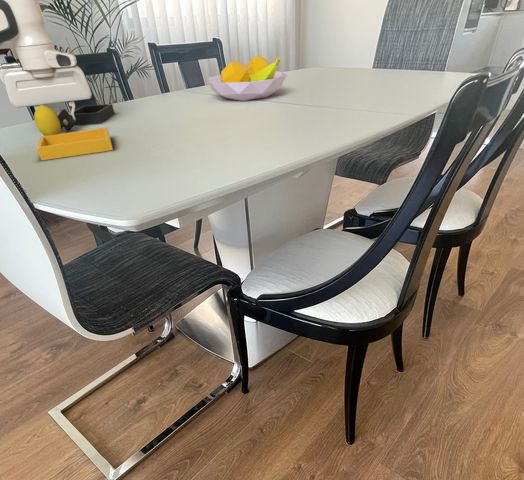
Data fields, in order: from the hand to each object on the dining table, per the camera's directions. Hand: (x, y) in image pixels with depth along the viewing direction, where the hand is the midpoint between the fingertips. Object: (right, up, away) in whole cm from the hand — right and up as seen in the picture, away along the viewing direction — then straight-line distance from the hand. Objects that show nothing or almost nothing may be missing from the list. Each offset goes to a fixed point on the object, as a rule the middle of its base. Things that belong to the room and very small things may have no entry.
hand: (61, 122), depth 106 cm
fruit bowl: (+51, +24, +26) cm, 62 cm away
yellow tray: (+11, -15, -14) cm, 23 cm away
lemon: (+2, -9, -6) cm, 10 cm away
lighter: (0, -2, +1) cm, 2 cm away
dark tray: (+3, +8, +12) cm, 15 cm away
